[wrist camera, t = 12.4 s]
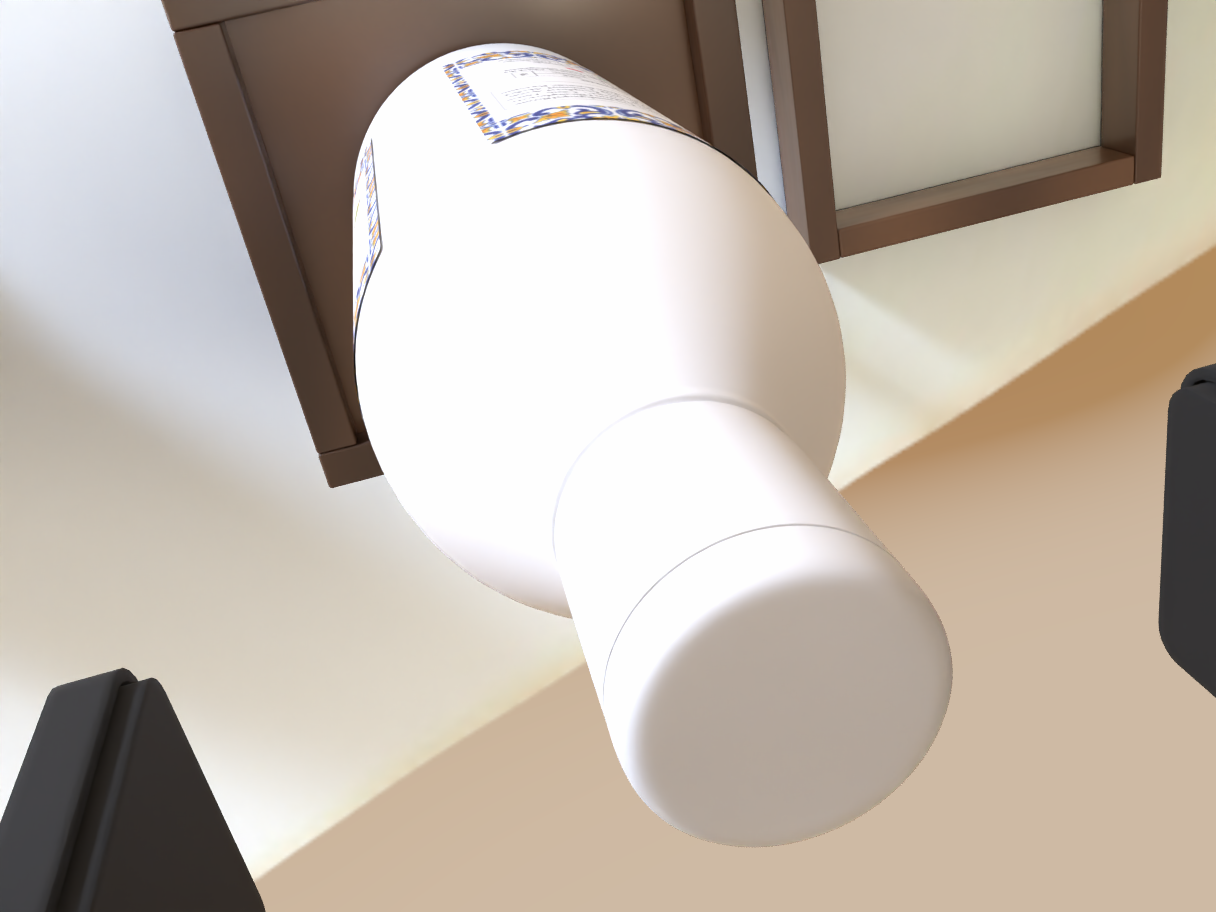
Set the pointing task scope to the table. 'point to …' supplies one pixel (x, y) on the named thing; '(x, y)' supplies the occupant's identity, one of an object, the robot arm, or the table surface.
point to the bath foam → (638, 436)
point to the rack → (613, 49)
